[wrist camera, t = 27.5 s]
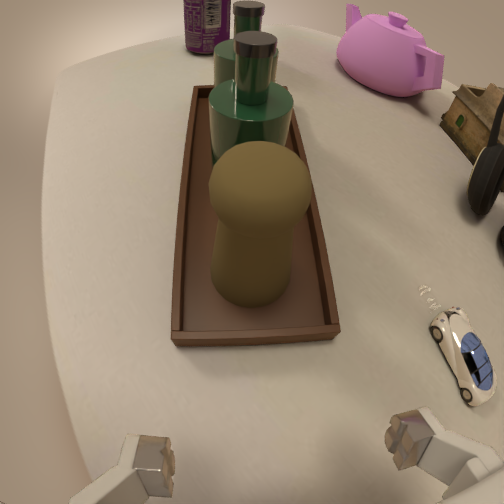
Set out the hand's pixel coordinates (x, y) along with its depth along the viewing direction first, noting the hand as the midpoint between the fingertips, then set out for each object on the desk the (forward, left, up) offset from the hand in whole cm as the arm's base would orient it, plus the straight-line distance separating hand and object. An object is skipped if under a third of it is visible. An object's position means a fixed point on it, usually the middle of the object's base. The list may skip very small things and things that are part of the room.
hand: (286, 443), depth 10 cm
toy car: (+16, -7, -11) cm, 20 cm away
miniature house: (+48, +2, -11) cm, 49 cm away
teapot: (+46, +23, -11) cm, 53 cm away
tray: (+12, +17, -10) cm, 23 cm away
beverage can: (+27, +44, -11) cm, 53 cm away
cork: (+7, +9, -10) cm, 15 cm away
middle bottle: (+12, +17, -10) cm, 23 cm away
